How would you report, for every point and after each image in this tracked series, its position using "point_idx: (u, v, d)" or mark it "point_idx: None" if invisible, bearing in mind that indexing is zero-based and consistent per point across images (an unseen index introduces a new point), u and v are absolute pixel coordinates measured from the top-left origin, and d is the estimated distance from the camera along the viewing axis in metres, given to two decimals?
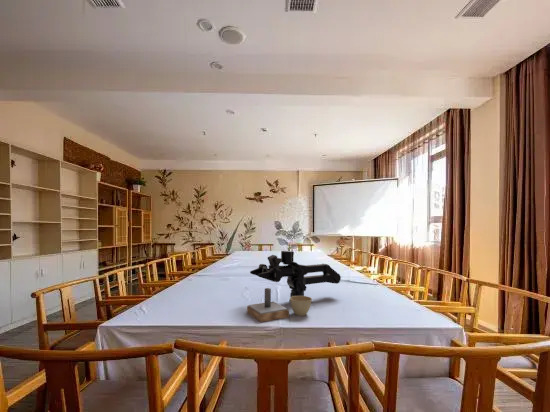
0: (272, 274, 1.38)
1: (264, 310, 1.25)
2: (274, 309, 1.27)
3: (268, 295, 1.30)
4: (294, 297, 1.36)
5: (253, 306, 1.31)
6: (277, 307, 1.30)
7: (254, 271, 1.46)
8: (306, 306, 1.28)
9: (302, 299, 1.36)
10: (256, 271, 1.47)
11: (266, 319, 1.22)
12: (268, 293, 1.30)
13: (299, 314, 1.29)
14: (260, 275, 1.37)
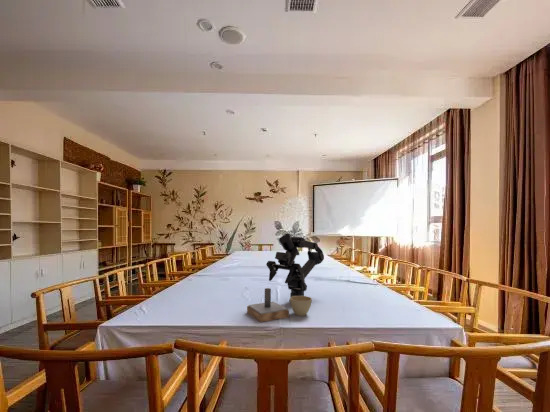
0: (294, 272, 1.37)
1: (264, 310, 1.25)
2: (274, 309, 1.27)
3: (268, 295, 1.30)
4: (294, 297, 1.36)
5: (253, 306, 1.31)
6: (277, 307, 1.30)
7: (271, 276, 1.41)
8: (306, 306, 1.28)
9: (302, 299, 1.36)
10: (271, 274, 1.42)
11: (266, 319, 1.22)
12: (268, 293, 1.30)
13: (299, 314, 1.29)
14: (287, 281, 1.35)
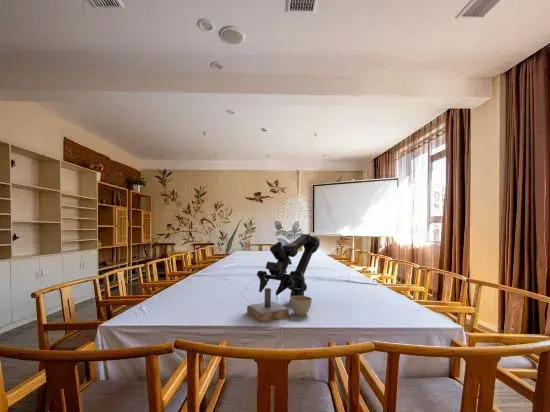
0: (286, 283, 1.31)
1: (264, 310, 1.25)
2: (274, 309, 1.27)
3: (268, 295, 1.30)
4: (294, 297, 1.36)
5: (253, 306, 1.31)
6: (277, 307, 1.30)
7: (261, 287, 1.35)
8: (306, 306, 1.28)
9: (302, 299, 1.36)
10: (262, 285, 1.36)
11: (266, 319, 1.22)
12: (268, 293, 1.30)
13: (299, 314, 1.29)
14: (277, 293, 1.29)
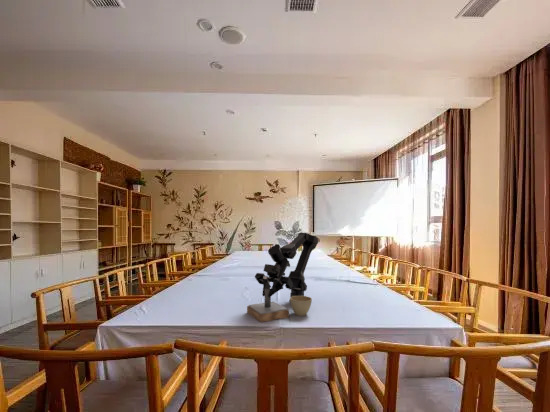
0: (278, 284, 1.31)
1: (264, 310, 1.25)
2: (274, 309, 1.27)
3: None
4: (294, 297, 1.36)
5: (253, 306, 1.31)
6: (277, 307, 1.30)
7: None
8: (306, 306, 1.28)
9: (302, 299, 1.36)
10: None
11: (266, 319, 1.22)
12: (268, 293, 1.30)
13: (299, 314, 1.29)
14: (270, 295, 1.29)
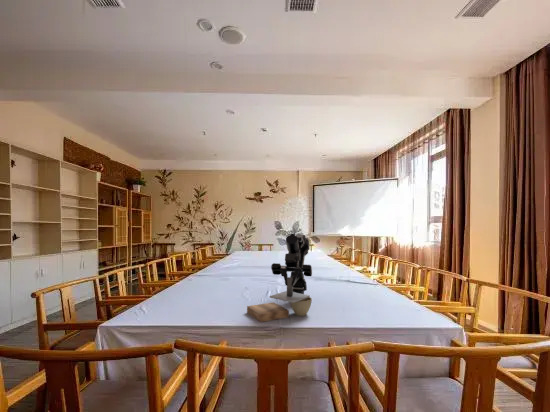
0: (299, 273, 1.33)
1: (292, 299, 1.25)
2: (299, 297, 1.28)
3: (291, 284, 1.30)
4: None
5: (276, 296, 1.29)
6: (299, 295, 1.32)
7: (286, 280, 1.31)
8: (306, 306, 1.28)
9: (302, 299, 1.36)
10: None
11: (266, 319, 1.22)
12: (291, 282, 1.30)
13: (299, 314, 1.29)
14: (294, 283, 1.30)
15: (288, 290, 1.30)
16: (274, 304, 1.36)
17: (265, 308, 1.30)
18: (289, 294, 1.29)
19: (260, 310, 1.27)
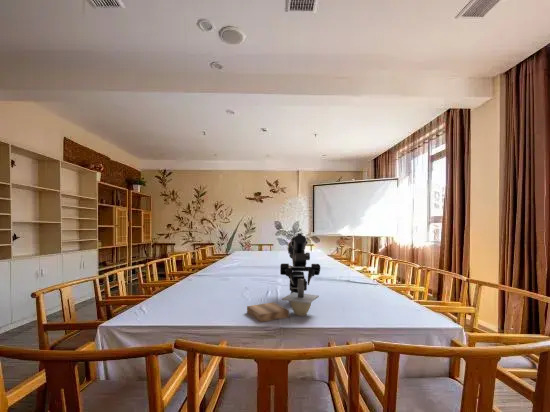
0: (312, 272, 1.36)
1: (306, 300, 1.27)
2: (311, 297, 1.31)
3: (303, 285, 1.32)
4: None
5: (289, 298, 1.29)
6: (308, 295, 1.34)
7: (293, 279, 1.33)
8: (306, 306, 1.28)
9: None
10: None
11: (266, 319, 1.22)
12: (303, 283, 1.32)
13: (299, 314, 1.29)
14: (309, 282, 1.32)
15: (300, 291, 1.31)
16: (274, 304, 1.36)
17: (265, 308, 1.30)
18: (301, 295, 1.31)
19: (260, 310, 1.27)
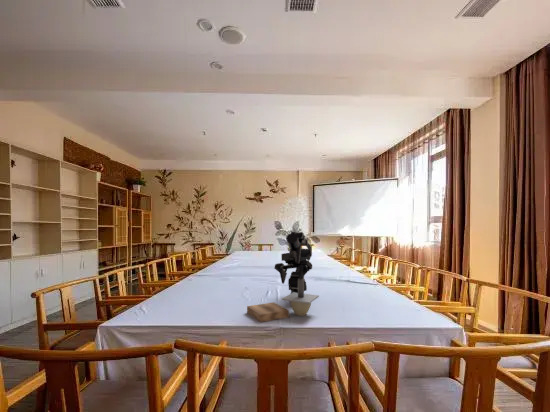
0: (304, 268, 1.38)
1: (306, 300, 1.27)
2: (311, 297, 1.31)
3: (303, 285, 1.32)
4: None
5: (289, 298, 1.29)
6: (308, 295, 1.34)
7: (283, 278, 1.41)
8: (306, 306, 1.28)
9: None
10: (283, 276, 1.42)
11: (266, 319, 1.22)
12: (303, 283, 1.32)
13: (299, 314, 1.29)
14: None
15: (300, 291, 1.31)
16: (274, 304, 1.36)
17: (265, 308, 1.30)
18: (301, 295, 1.31)
19: (260, 310, 1.27)
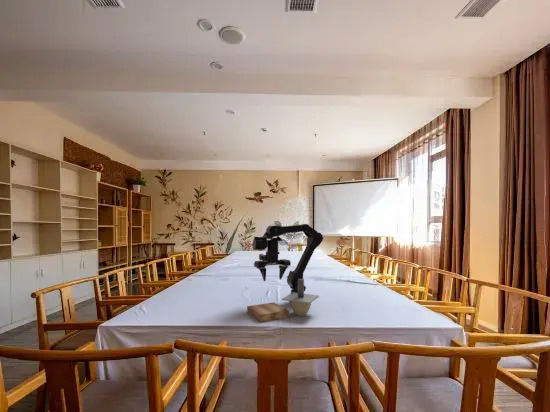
0: (260, 268, 1.45)
1: (306, 300, 1.27)
2: (311, 297, 1.31)
3: (303, 285, 1.32)
4: None
5: (289, 298, 1.29)
6: (308, 296, 1.34)
7: (279, 275, 1.51)
8: (306, 306, 1.28)
9: None
10: (280, 272, 1.51)
11: (266, 319, 1.22)
12: (303, 283, 1.32)
13: (299, 314, 1.29)
14: (263, 279, 1.46)
15: (300, 291, 1.31)
16: (274, 304, 1.36)
17: (265, 308, 1.30)
18: (301, 295, 1.31)
19: (260, 310, 1.27)
